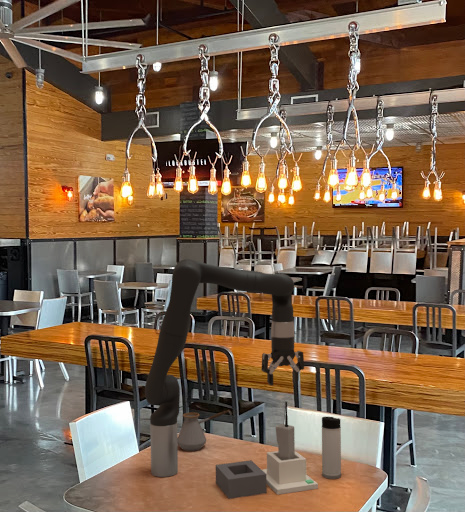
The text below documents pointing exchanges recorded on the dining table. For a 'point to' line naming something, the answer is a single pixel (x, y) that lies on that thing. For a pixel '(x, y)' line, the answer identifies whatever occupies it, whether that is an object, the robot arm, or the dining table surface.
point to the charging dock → (287, 474)
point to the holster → (240, 479)
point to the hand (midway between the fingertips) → (283, 383)
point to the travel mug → (331, 448)
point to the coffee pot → (193, 431)
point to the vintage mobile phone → (285, 439)
